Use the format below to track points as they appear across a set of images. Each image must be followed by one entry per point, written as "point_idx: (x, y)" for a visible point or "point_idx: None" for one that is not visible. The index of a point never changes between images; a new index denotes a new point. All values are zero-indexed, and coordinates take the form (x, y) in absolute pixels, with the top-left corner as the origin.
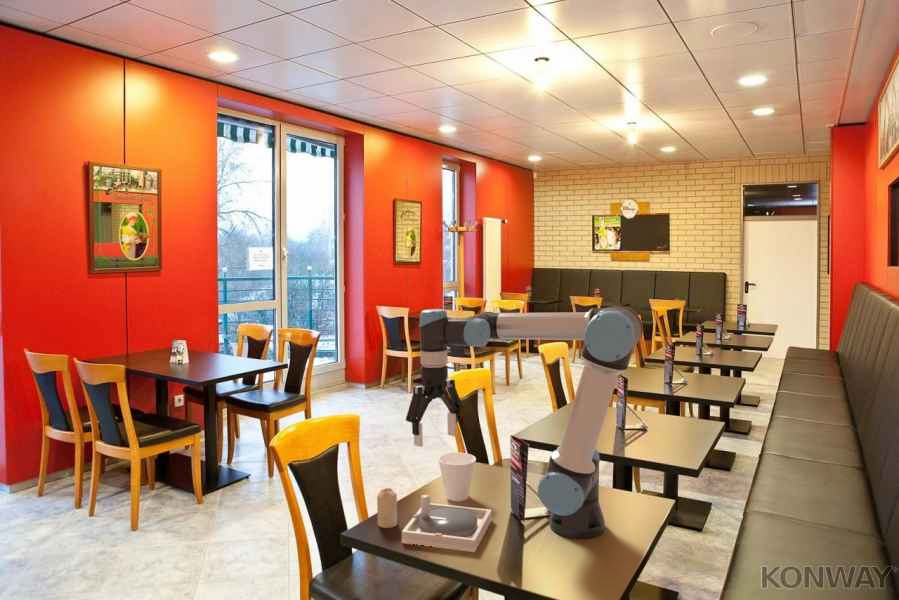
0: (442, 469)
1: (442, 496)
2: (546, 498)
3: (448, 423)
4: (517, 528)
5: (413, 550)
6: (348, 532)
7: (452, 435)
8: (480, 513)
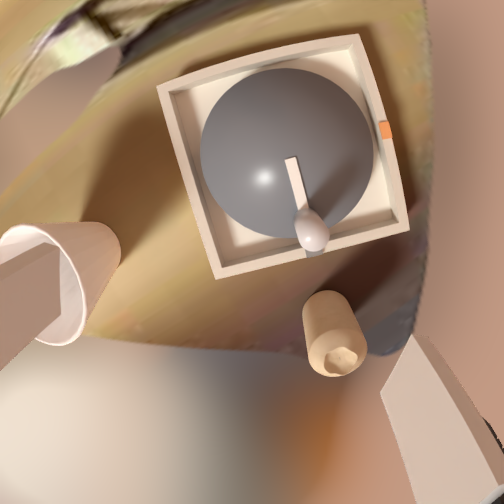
0: (93, 306)
1: (115, 283)
2: None
3: (6, 353)
4: (177, 20)
5: (415, 178)
6: (394, 351)
7: (57, 268)
8: (176, 111)
